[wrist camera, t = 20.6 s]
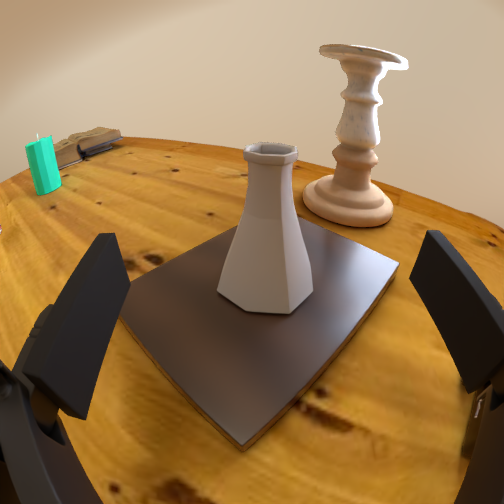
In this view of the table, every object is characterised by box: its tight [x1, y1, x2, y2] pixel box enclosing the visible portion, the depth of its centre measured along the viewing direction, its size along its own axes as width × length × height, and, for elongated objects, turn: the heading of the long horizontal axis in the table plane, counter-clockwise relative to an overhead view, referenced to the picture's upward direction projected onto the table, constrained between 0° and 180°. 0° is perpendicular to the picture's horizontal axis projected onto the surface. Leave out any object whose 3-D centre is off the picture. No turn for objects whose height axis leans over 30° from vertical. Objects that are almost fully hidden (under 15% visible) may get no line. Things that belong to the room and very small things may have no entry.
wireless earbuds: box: [461, 380, 491, 457], centre depth 11 cm, size 5×7×3 cm, turn 141°
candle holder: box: [303, 44, 408, 227], centre depth 30 cm, size 12×12×20 cm
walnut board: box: [118, 216, 400, 452], centre depth 22 cm, size 20×15×2 cm
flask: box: [217, 142, 313, 314], centre depth 18 cm, size 7×7×10 cm
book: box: [53, 127, 123, 170], centre depth 61 cm, size 25×17×6 cm
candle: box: [25, 136, 62, 195], centre depth 41 cm, size 6×6×12 cm
